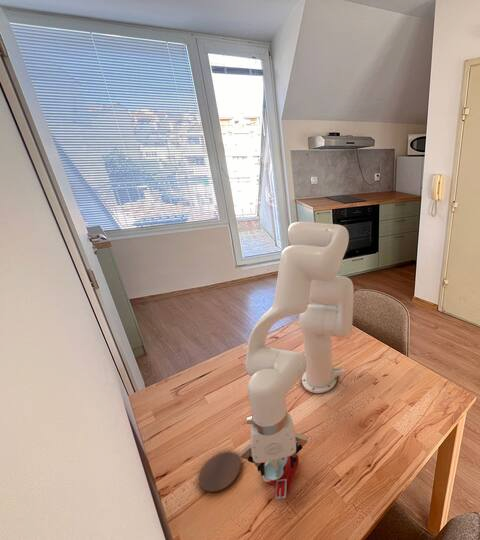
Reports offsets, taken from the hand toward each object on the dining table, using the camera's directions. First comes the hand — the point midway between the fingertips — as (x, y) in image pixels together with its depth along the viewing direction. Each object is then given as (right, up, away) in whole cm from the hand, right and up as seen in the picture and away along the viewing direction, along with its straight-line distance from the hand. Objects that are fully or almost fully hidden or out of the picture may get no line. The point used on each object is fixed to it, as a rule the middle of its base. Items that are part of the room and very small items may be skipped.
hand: (277, 465), depth 75 cm
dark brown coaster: (-16, -3, +3) cm, 16 cm away
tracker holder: (0, -4, +2) cm, 5 cm away
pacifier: (-1, -1, 0) cm, 1 cm away
